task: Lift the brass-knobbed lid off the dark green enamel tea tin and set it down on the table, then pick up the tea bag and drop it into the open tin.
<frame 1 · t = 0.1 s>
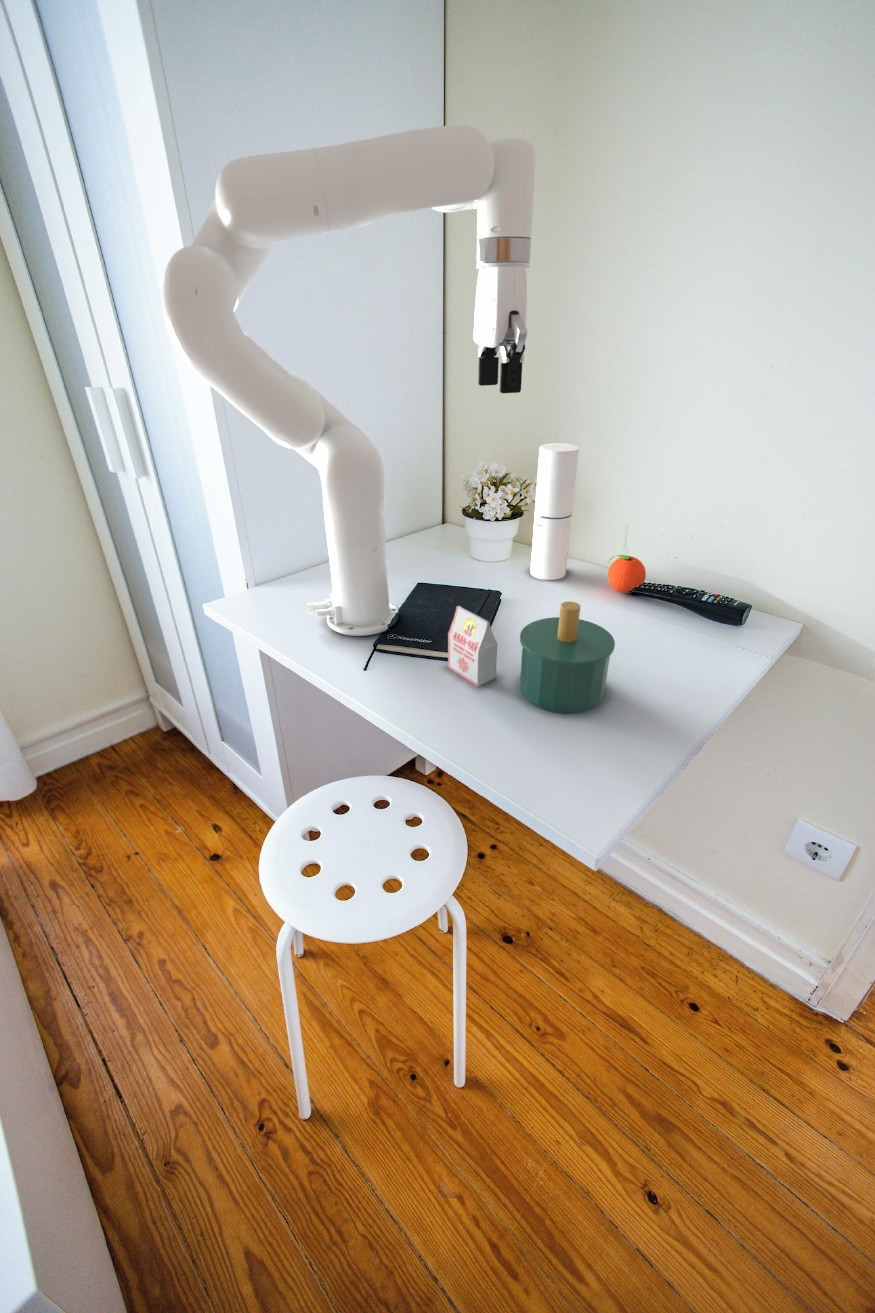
hand: (498, 388, 93), 37 cm above the table, tool pointing down, fingers open, 9 cm apart
tin: (561, 689, 87), on the table
tea bag: (471, 673, 91), on the table
tin lid: (566, 641, 83), point 8 cm above the table, touching tin
clementine: (621, 591, 116), on the table
cylindrical container: (547, 573, 123), on the table
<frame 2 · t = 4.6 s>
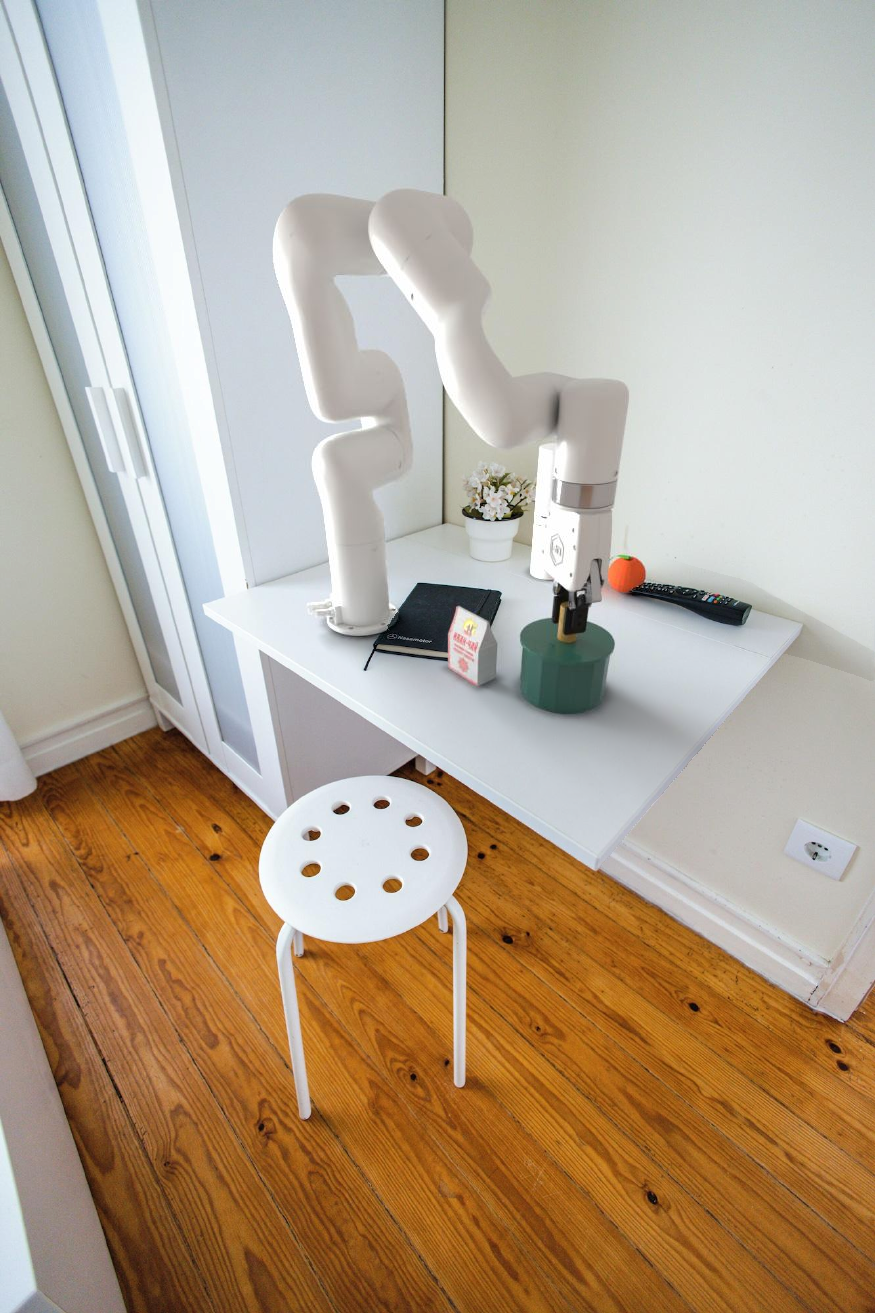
hand: (568, 626, 81), 10 cm above the table, tool pointing down, fingers closed on tin lid, 2 cm apart
tin lid: (566, 641, 83), point 8 cm above the table, touching gripper, tin
everything else where it was.
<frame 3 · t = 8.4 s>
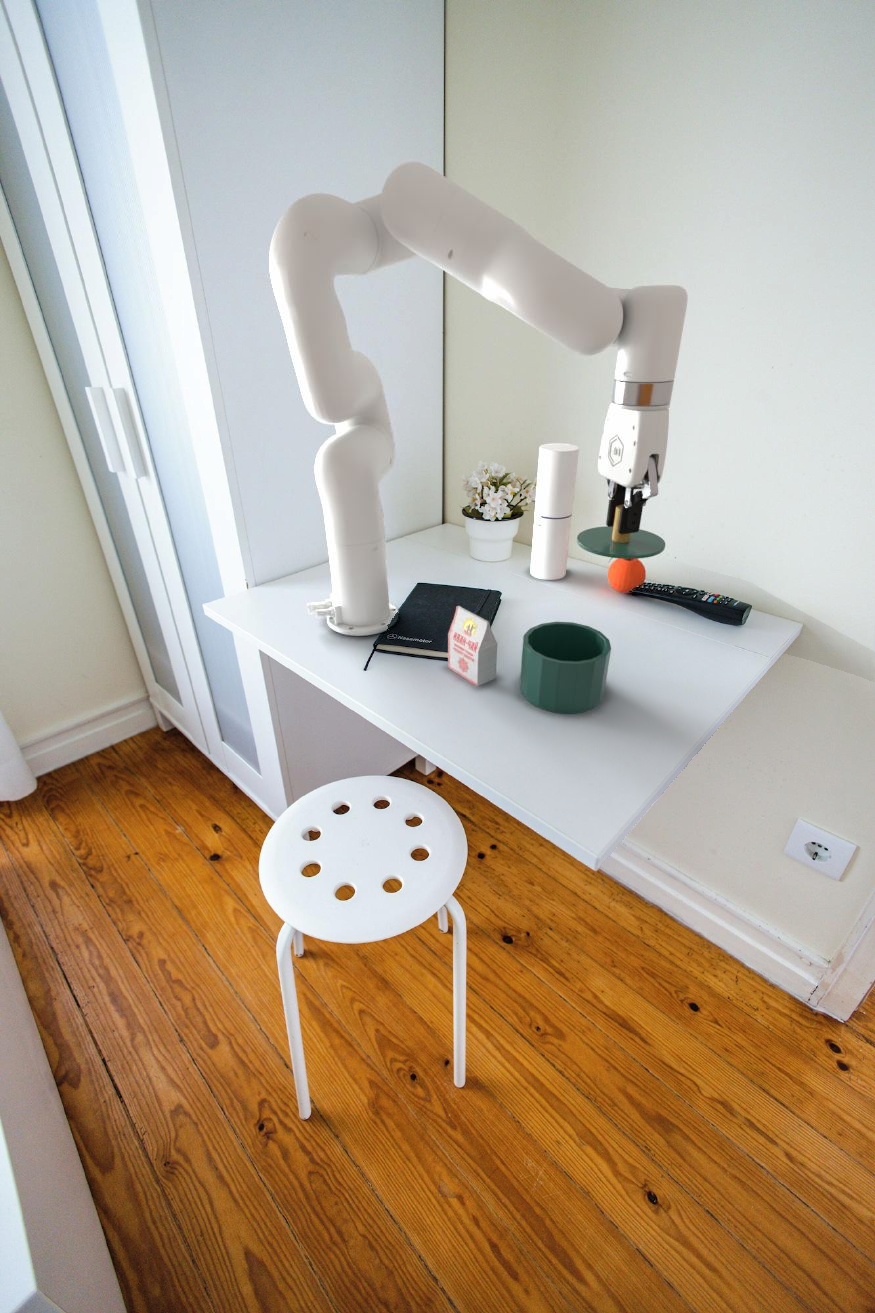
hand: (622, 527, 89), 19 cm above the table, tool pointing down, fingers closed on tin lid, 2 cm apart
tin lid: (620, 543, 90), point 17 cm above the table, touching gripper
everything else where it was.
when the fingers open (3 cm above the table, at t = 12.1 s): tin lid stays where it is, point 1 cm above the table.
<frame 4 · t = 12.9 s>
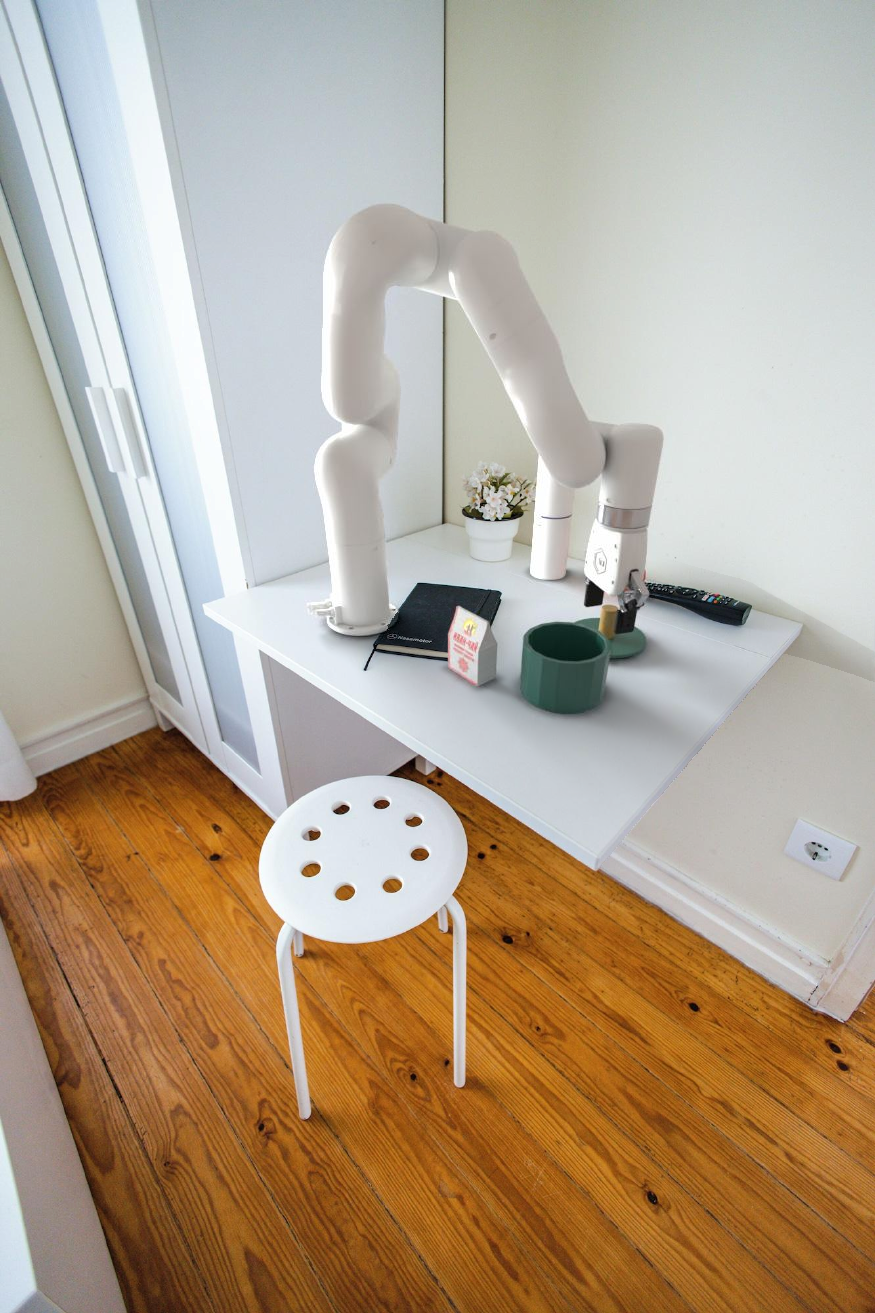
hand: (607, 618, 97), 4 cm above the table, tool pointing down, fingers open, 9 cm apart
tin lid: (605, 638, 98), point 1 cm above the table
everything else where it was.
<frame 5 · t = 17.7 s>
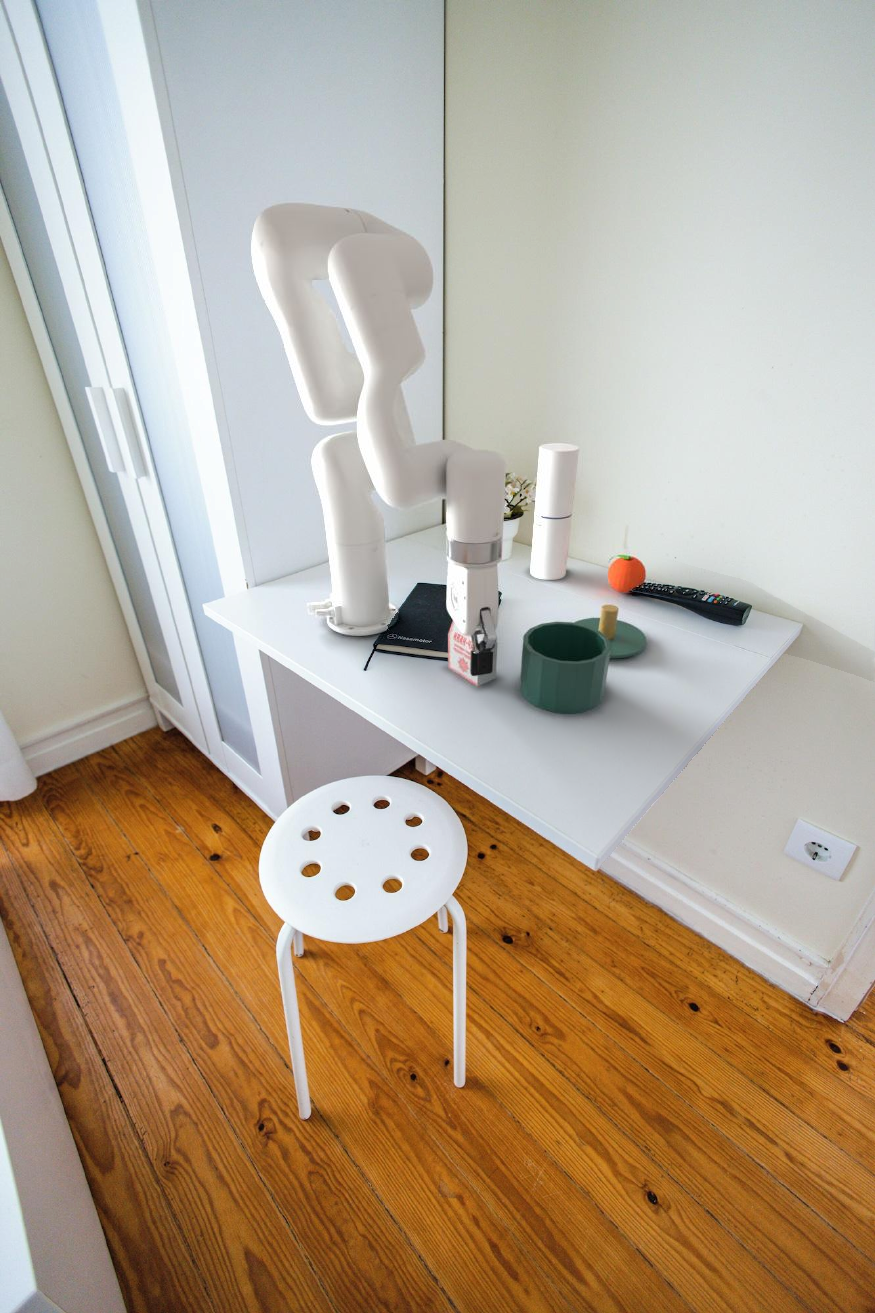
hand: (472, 658, 90), 2 cm above the table, tool pointing down, fingers closed on tea bag, 7 cm apart
tea bag: (471, 673, 91), on the table, touching gripper
everything else where it was.
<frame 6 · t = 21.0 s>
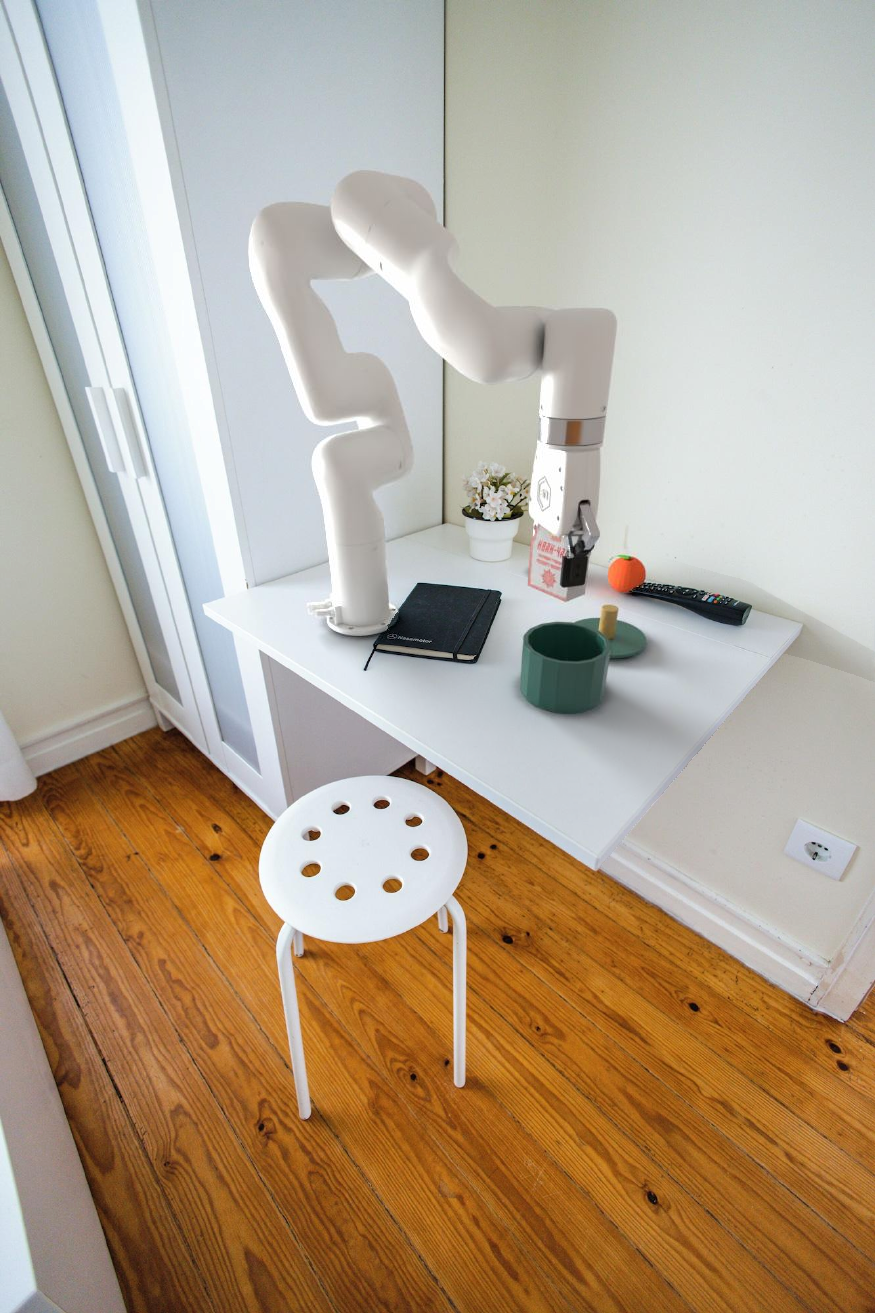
hand: (557, 572, 78), 18 cm above the table, tool pointing down, fingers closed on tea bag, 7 cm apart
tea bag: (555, 591, 79), point 15 cm above the table, touching gripper
everything else where it was.
when the fingers open (8 cm above the table, at t = 24.3 s): tea bag drops 5 cm, resting on tin.
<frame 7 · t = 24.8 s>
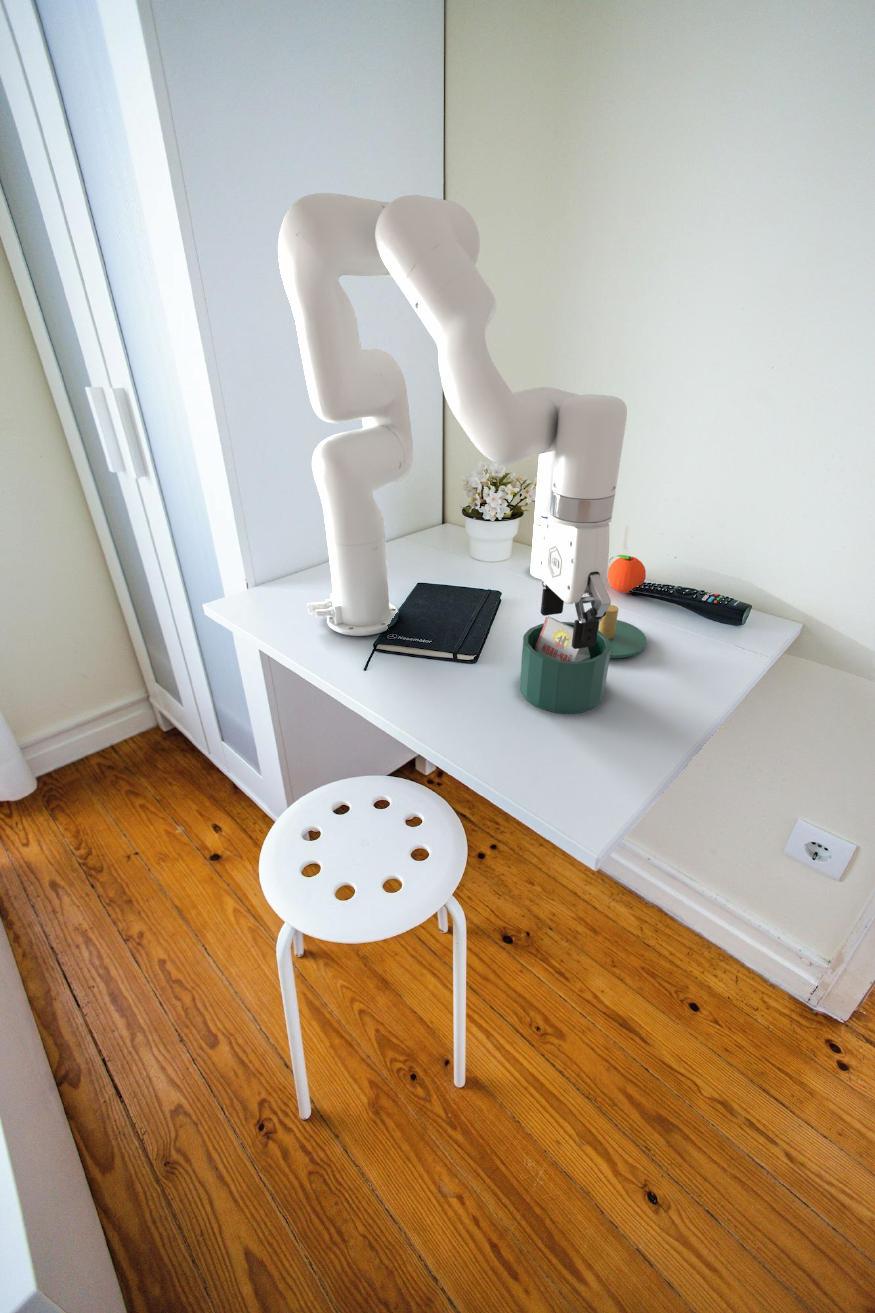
hand: (566, 629, 82), 10 cm above the table, tool pointing down, fingers open, 9 cm apart
tea bag: (558, 686, 87), resting on tin
everything else where it was.
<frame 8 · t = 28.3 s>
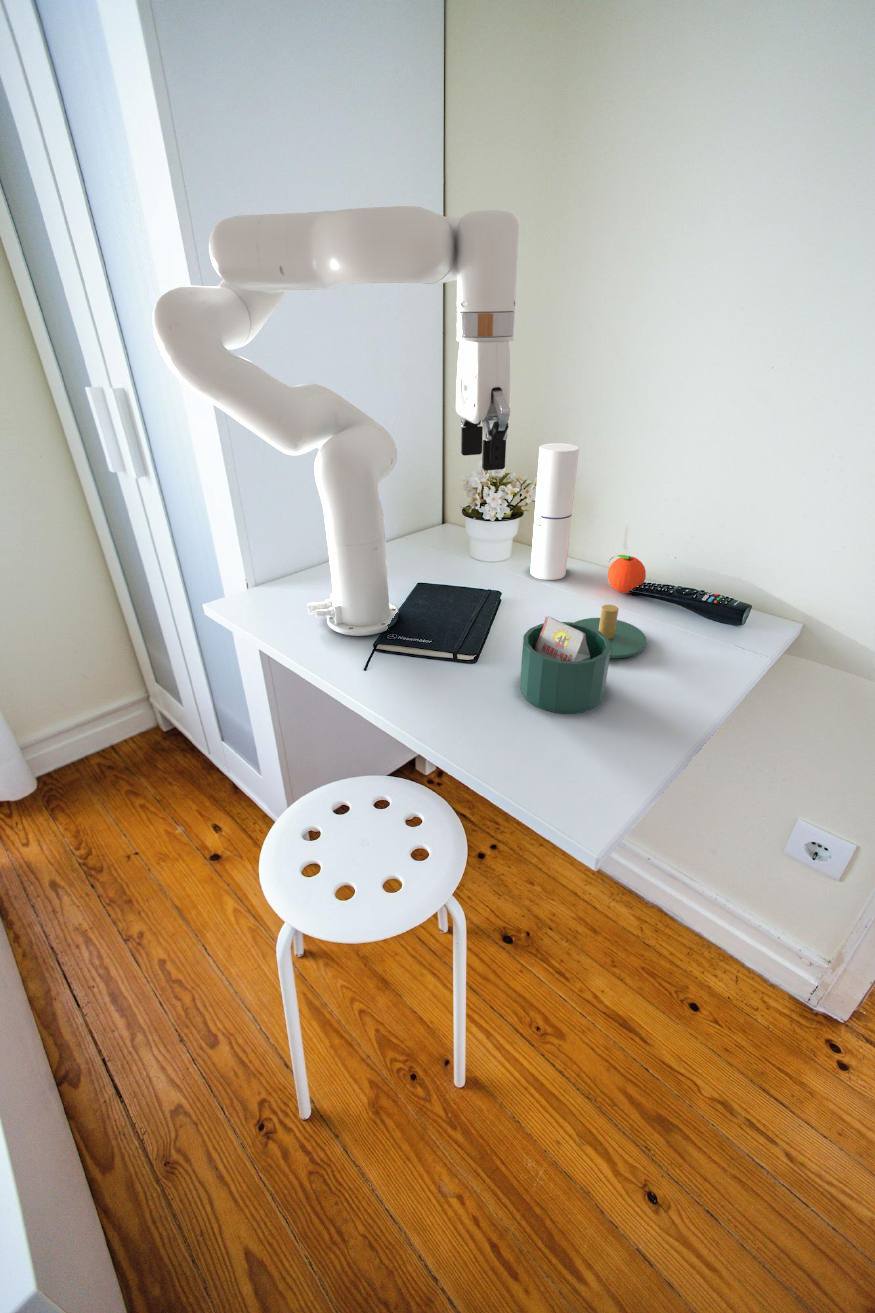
hand: (482, 461, 87), 28 cm above the table, tool pointing down, fingers open, 9 cm apart
nothing on the table moved.
at the end: tin lid inside the target area (0.1 cm from its centre), point 0.6 cm above the table; tea bag inside the target area in the tin (0.4 cm from its centre), point 0.3 cm above the tin's base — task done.
